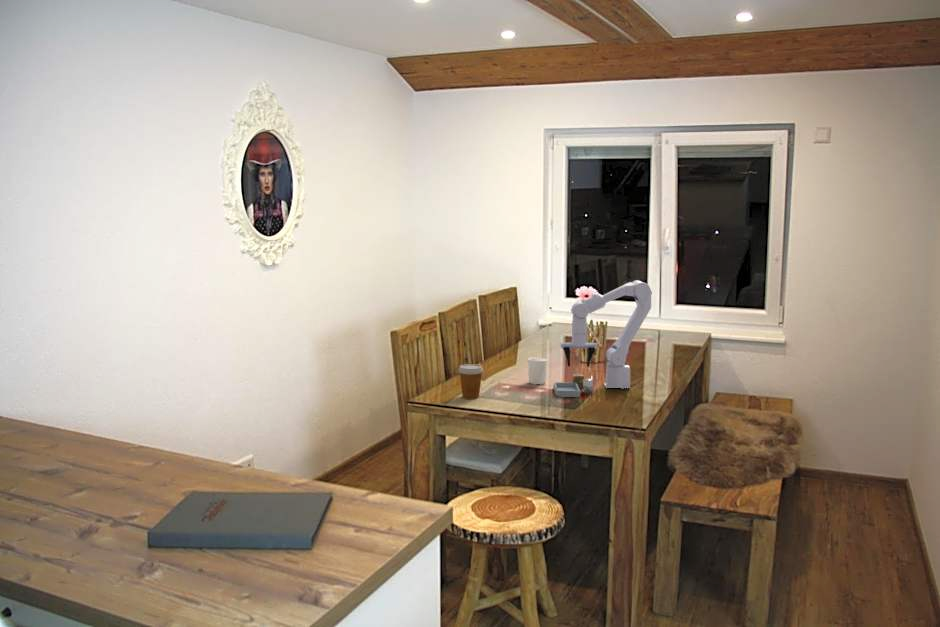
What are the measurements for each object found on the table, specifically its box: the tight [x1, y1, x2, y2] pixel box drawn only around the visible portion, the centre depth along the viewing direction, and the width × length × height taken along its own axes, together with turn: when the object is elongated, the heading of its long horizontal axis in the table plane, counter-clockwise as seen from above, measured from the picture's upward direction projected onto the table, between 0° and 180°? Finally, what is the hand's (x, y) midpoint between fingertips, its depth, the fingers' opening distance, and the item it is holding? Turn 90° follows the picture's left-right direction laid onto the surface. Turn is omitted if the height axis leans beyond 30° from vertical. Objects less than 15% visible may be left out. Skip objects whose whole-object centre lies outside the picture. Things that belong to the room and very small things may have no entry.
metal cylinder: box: [582, 378, 594, 394], centre depth 312 cm, size 4×4×5 cm
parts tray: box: [553, 381, 581, 398], centre depth 311 cm, size 9×14×2 cm, turn 179°
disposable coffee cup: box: [458, 363, 484, 400], centre depth 303 cm, size 10×10×12 cm
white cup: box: [527, 356, 548, 385], centre depth 327 cm, size 8×8×10 cm
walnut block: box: [572, 373, 585, 389], centre depth 320 cm, size 4×4×5 cm
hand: (578, 365), depth 319 cm, fingers open, 7 cm apart
